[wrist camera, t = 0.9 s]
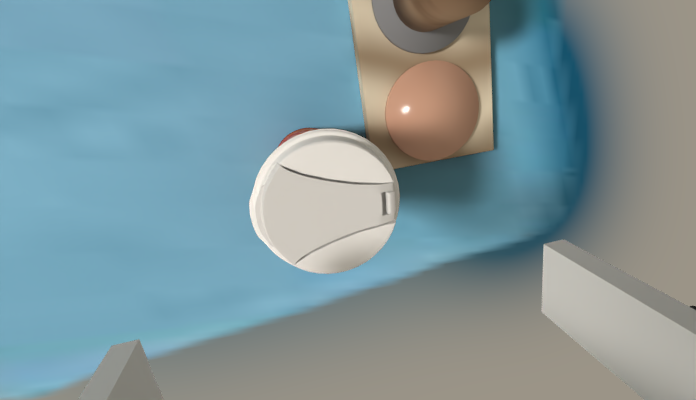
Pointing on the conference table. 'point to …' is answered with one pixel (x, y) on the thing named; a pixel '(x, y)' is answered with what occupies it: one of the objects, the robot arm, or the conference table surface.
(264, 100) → the conference table surface
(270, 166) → the paper cup
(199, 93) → the conference table surface
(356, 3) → the board
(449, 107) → the terracotta pad
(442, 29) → the grey pad
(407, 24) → the brown short cylinder
